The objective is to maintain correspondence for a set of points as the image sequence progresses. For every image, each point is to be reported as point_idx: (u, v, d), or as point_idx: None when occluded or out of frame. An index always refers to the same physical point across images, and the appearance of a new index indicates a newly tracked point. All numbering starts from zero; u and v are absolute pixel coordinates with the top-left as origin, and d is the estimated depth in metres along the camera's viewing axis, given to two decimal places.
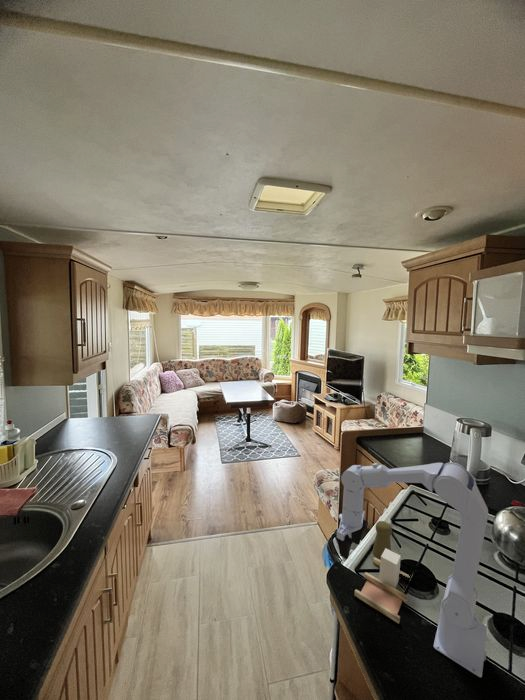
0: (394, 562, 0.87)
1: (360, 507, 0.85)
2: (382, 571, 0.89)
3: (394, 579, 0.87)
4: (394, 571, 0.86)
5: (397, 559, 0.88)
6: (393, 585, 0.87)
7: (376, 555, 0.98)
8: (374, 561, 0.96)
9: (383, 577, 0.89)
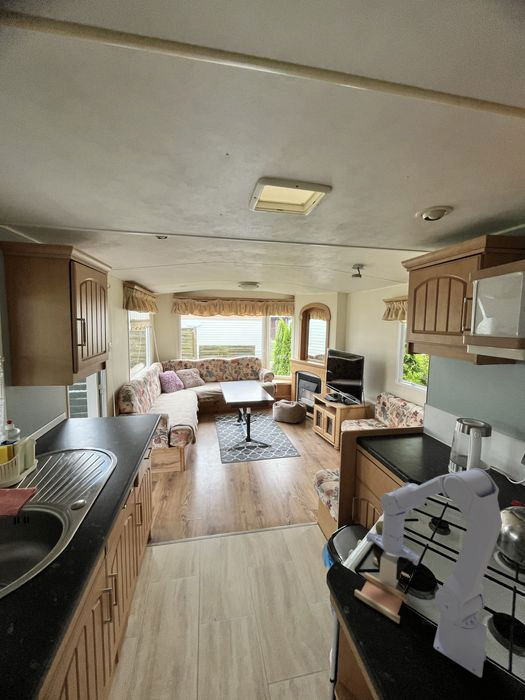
0: (394, 562, 0.87)
1: (398, 533, 0.85)
2: (382, 571, 0.89)
3: (394, 579, 0.87)
4: (394, 571, 0.86)
5: (397, 559, 0.88)
6: (393, 585, 0.87)
7: None
8: (374, 561, 0.96)
9: (383, 577, 0.89)
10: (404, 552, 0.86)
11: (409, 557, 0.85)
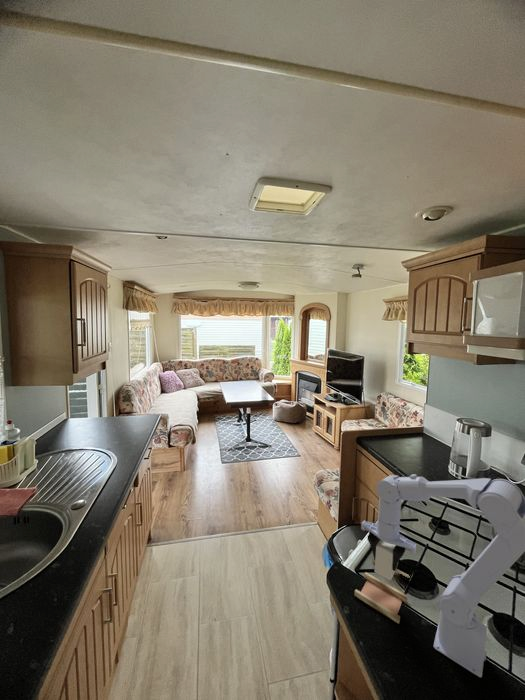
0: (390, 551, 0.82)
1: (396, 520, 0.81)
2: (377, 562, 0.84)
3: (390, 569, 0.82)
4: (390, 561, 0.82)
5: None
6: (389, 576, 0.82)
7: None
8: (374, 561, 0.96)
9: (378, 568, 0.84)
10: (400, 541, 0.81)
11: (406, 546, 0.79)
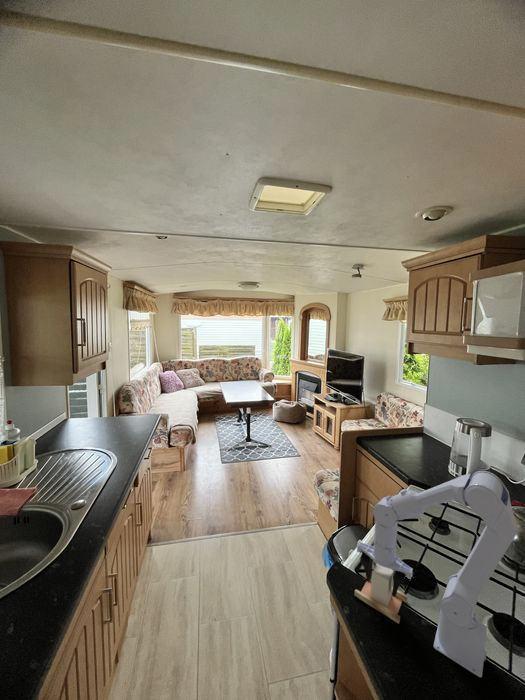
0: (386, 578, 0.81)
1: (394, 543, 0.80)
2: (373, 588, 0.83)
3: (386, 596, 0.81)
4: (386, 588, 0.81)
5: (390, 574, 0.82)
6: (385, 602, 0.81)
7: None
8: (374, 561, 0.96)
9: (374, 594, 0.83)
10: (397, 564, 0.80)
11: (402, 570, 0.78)
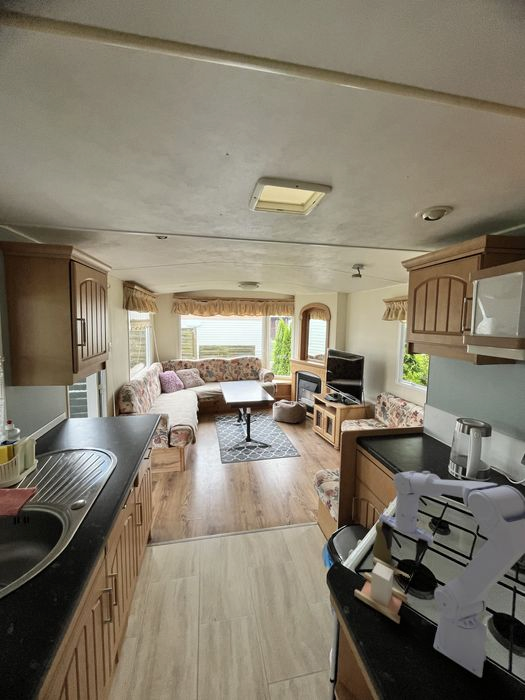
0: (386, 578, 0.81)
1: (411, 513, 0.84)
2: (373, 588, 0.83)
3: (386, 596, 0.81)
4: (386, 588, 0.81)
5: (390, 574, 0.82)
6: (385, 602, 0.81)
7: (376, 555, 0.98)
8: (374, 561, 0.96)
9: (374, 594, 0.83)
10: (418, 533, 0.85)
11: (424, 537, 0.83)
